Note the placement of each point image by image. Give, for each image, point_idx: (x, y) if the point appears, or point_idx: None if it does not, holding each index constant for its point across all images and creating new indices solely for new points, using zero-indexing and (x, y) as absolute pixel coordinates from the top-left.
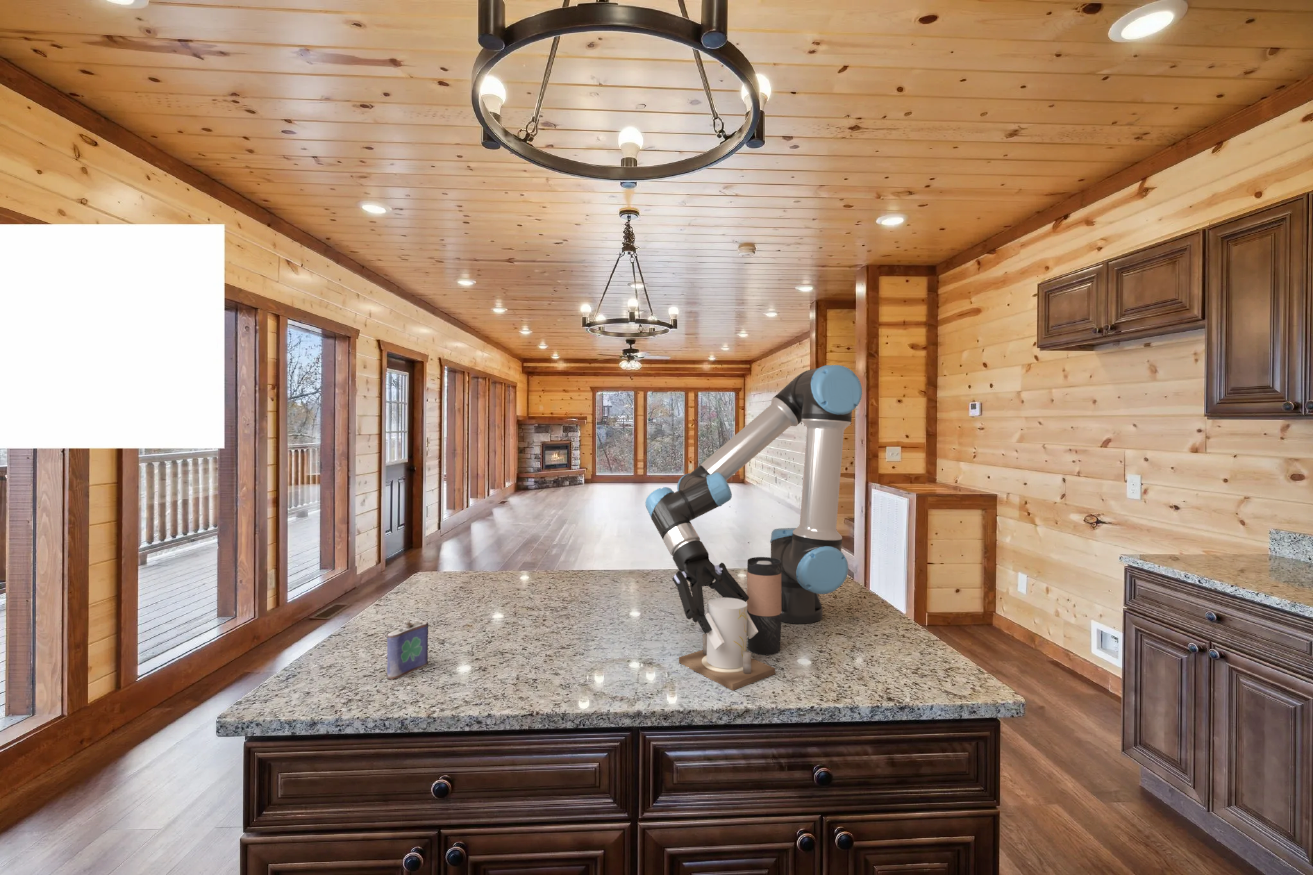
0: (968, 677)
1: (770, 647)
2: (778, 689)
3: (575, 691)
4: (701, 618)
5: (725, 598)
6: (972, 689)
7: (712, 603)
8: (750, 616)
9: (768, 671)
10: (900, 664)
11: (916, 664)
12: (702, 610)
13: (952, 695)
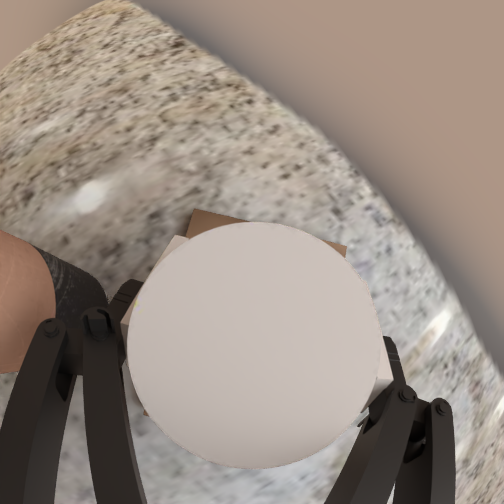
0: (65, 30)
1: (87, 275)
2: (265, 173)
3: (484, 447)
4: (404, 382)
5: (176, 414)
6: (99, 16)
7: (333, 411)
8: (129, 283)
9: (219, 215)
10: (44, 83)
11: (39, 72)
12: (407, 397)
13: (126, 17)
